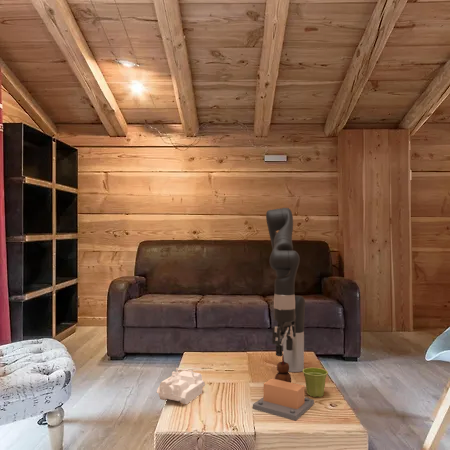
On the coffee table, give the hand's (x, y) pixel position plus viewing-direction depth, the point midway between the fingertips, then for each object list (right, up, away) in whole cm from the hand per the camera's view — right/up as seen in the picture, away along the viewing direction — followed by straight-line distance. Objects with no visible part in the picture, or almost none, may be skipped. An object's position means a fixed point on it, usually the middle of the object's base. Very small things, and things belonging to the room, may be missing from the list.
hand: (284, 353), depth 140 cm
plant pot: (+13, -19, +11) cm, 26 cm away
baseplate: (0, -19, -1) cm, 19 cm away
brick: (0, -17, -1) cm, 17 cm away
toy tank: (-38, -19, +5) cm, 43 cm away
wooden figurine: (+1, -19, +13) cm, 23 cm away
